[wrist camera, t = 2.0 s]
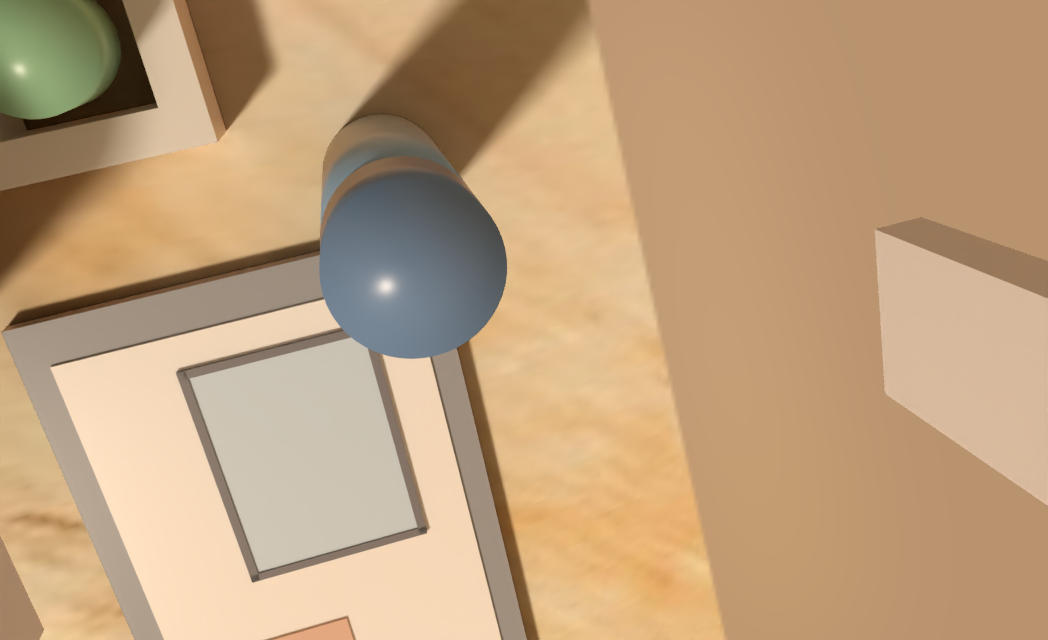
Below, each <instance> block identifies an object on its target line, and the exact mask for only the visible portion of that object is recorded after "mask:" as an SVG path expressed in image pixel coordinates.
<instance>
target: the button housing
mask: <svg viewBox="0 0 1048 640" xmlns="http://www.w3.org/2000/svg"><path fill="white" fill-rule="evenodd" d="M122 1H123V4H124V7H125V10H126V13H127V16H128V19H129V22H130V25H131V28H132V31H133V34H134V37H135V40H136V43H137V46H138V49H139V52H140V55H141V58H142V61H143V64H144V67H145V70H146V73H147V76H148V79H149V82H150V85H151V88H152V91H153V94H154V97H155V100H156V103H153V104H149V105H144V106H139V107H135V108H130V109H126V110H121V111H116V112H112V113H107V114H102V115H98V116H93V117H89V118H84V119H79V120H75V121H70V122H66V123H61V124H56V125H52V126H47V127H43V128H38V129H33V130H29V131H27V129H26V126H25V124H24V121H23V119H22V118H17V117H13V116H9V115H6V114H4V113H1V112H0V191H3V190H7V189H12V188H16V187H20V186H25V185H29V184H34V183H38V182H43V181H47V180H52V179H56V178H61V177H65V176H70V175H74V174H78V173H83V172H87V171H92V170H96V169H101V168H105V167H110V166H114V165H119V164H123V163H127V162H132V161H136V160H141V159H145V158H150V157H154V156H159V155H163V154H168V153H172V152H177V151H181V150H185V149H190V148H194V147H199V146H203V145H208V144H212V143H217V142H218V141H219V140H220V139H221V137H222V136H223V135H224V134H225V132H226V129H225V126H224V122H223V119H222V116H221V113H220V109H219V106H218V103H217V100H216V97H215V93H214V90H213V87H212V84H211V80H210V77H209V74H208V71H207V68H206V64H205V61H204V58H203V55H202V51H201V48H200V45H199V42H198V39H197V35H196V32H195V29H194V26H193V22H192V19H191V16H190V13H189V10H188V6H187V3H186V0H122Z"/></svg>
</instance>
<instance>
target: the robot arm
mask: <svg viewBox="0 0 1048 640" xmlns="http://www.w3.org/2000/svg"><path fill="white" fill-rule="evenodd" d="M875 240H876V255H877V272H878V288H879V303H880V318H881V335H882V351H883V365H884V366H883V367H884V383H885V394H887V395H888V396H889V397H891V398H892V399H894V400H895V401H897V402H898V403H900V404H901V405H902V406H904V407H906V408H907V409H908V410H910V411H911V412H913V413H914V414H916V415H917V416H918V417H920V418H921V419H923V420H924V421H926V422H927V423H929V424H930V425H932V426H933V427H934V428H936V429H937V430H939V431H940V432H942V433H943V434H945V435H946V436H948V437H949V438H950V439H952V440H953V441H955V442H956V443H958V444H959V445H961V446H962V447H963V448H965V449H967V450H968V451H969V452H971V453H972V454H974V455H975V456H977V457H978V458H980V459H981V460H982V461H984V462H985V463H987V464H988V465H990V466H991V467H992V468H994V469H996V470H997V471H998V472H1000V473H1001V474H1003V475H1004V476H1006V477H1007V478H1008V479H1010V480H1011V481H1013V482H1014V483H1016V484H1017V485H1019V486H1020V487H1022V488H1023V489H1024V490H1026V491H1027V492H1029V493H1030V494H1032V495H1033V496H1035V497H1036V498H1037V499H1039V500H1041V501H1042V502H1043V503H1045V504H1046V505H1048V261H1046V260H1043V259H1040V258H1037V257H1034V256H1031V255H1028V254H1026V253H1023V252H1020V251H1017V250H1014V249H1011V248H1008V247H1005V246H1003V245H1000V244H997V243H994V242H991V241H988V240H985V239H982V238H980V237H976V236H974V235H971V234H968V233H965V232H962V231H960V230H957V229H954V228H950V227H948V226H945V225H942V224H939V223H937V222H934V221H931V220H928V219H925V218H922V217H921V218H917V219H913V220H909V221H905V222H901V223H898V224H893V225H890V226H886V227H882V228H878V229H875ZM43 631H44V629H43V627H42V624H41V622H40V620H39V618H38V616H37V614H36V612H35V609H34V607H33V605H32V603H31V601H30V599H29V597H28V595H27V592H26V590H25V588H24V586H23V584H22V582H21V580H20V577H19V575H18V573H17V571H16V569H15V567H14V565H13V562H12V560H11V558H10V556H9V554H8V552H7V550H6V548H5V545H4V543H3V541H2V539H1V537H0V640H39V639H40V637H41V635H42V633H43Z"/></svg>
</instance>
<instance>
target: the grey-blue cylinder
mask: <svg viewBox="0 0 1048 640" xmlns="http://www.w3.org/2000/svg"><path fill="white" fill-rule="evenodd" d="M319 275H320V284H321V289H322V294H323V297H324V299H325V302H326V305H327V307H328V309H329V311H330V313H331V314H332V316H333V318H334V319H335V320H336V322H337V323H338V325H339V326H340V327H341V328H342V329H343V330H344V331H345V332H346V333H347V334H348V335H349V336H350V337H352V338H353V339H354V340H355V341H356V342H358V343H360V344H361V345H363V346H365V347H366V348H368V349H370V350H373V351H375V352H377V353H380V354H383V355H387V356H391V357H396V358H405V359H418V358H427V357H432V356H437V355H440V354H443V353H446V352H449V351H451V350H453V349H455V348H457V347H459V346H461V345H462V344H464V343H465V342H467V341H468V340H470V339H471V338H472V337H473V336H475V335H476V334H477V333H478V332H479V331H480V330H481V329H482V328H483V327H484V326H485V325H486V323H487V322H488V321H489V319H490V318H491V317H492V315H493V314H494V312H495V310H496V308H497V307H498V305H499V302H500V300H501V297H502V295H503V291H504V287H505V283H506V275H507V259H506V252H505V247H504V243H503V240H502V237H501V235H500V232H499V230H498V228H497V226H496V224H495V223H494V221H493V219H492V218H491V216H490V215H489V214H488V212H487V211H486V210H485V208H484V207H483V206H482V204H481V203H480V202H479V201H478V199H477V198H476V197H475V195H474V194H473V193H472V191H471V190H470V189H469V187H468V186H467V185H466V184H465V182H464V181H463V180H462V178H461V177H460V176H459V174H458V173H457V172H456V171H455V169H454V168H453V167H452V165H451V164H450V163H449V161H448V160H447V159H446V157H445V156H444V155H443V154H442V152H441V151H440V150H439V148H438V147H437V146H436V144H435V143H434V142H433V140H432V139H431V138H430V137H429V136H428V134H427V133H426V132H425V131H424V130H423V129H422V128H420V127H419V126H417V125H416V124H415V123H413V122H411V121H409V120H407V119H405V118H402V117H399V116H395V115H388V114H375V115H369V116H365V117H362V118H359V119H357V120H355V121H353V122H351V123H350V124H348V125H347V126H345V127H344V128H343V129H342V130H341V131H340V132H339V133H338V134H337V135H336V136H335V137H334V139H333V140H332V142H331V143H330V145H329V147H328V149H327V152H326V155H325V157H324V162H323V172H322V202H321V231H320V261H319Z"/></svg>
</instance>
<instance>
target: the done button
mask: <svg viewBox="0 0 1048 640" xmlns="http://www.w3.org/2000/svg"><path fill="white" fill-rule="evenodd" d="M120 60H121V46H120V40H119V36H118V32H117V30H116V27H115V25H114V23H113V21H112V19H111V18H110V16H109V15H108V13H107V12H106V11H105V9H104V8H103V7H102V6H101V5H100V4H99V3H98V2H97V1H96V0H0V112H1V113H4V114H6V115H9V116H13V117H17V118H23V119H44V118H50V117H53V116H57V115H59V114H62V113H64V112H67V111H69V110H71V109H74V108H76V107H78V106H81V105H83V104H86V103H88V102H90V101H92V100H94V99H96V98H97V97H99V96H100V95H102V94H103V93H104V92H105V91H106V90H107V89H108V88H109V87H110V85H111V84H112V82H113V81H114V79H115V77H116V75H117V73H118V69H119V66H120Z"/></svg>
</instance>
